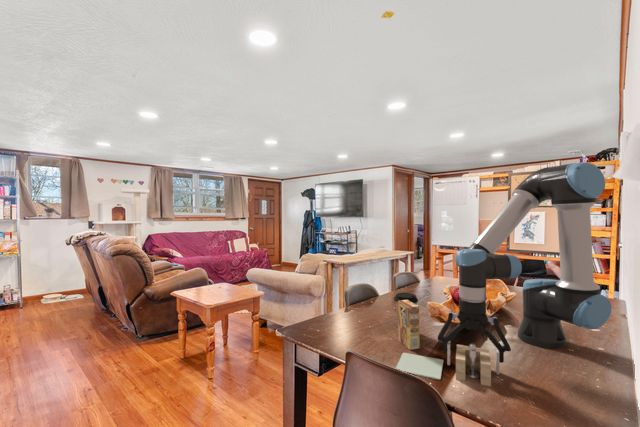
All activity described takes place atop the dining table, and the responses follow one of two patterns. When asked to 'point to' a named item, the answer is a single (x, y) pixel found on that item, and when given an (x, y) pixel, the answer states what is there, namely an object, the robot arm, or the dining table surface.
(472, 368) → the stand
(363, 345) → the dining table surface
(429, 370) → the felt mat
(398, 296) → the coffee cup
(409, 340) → the candy box
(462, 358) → the c link
